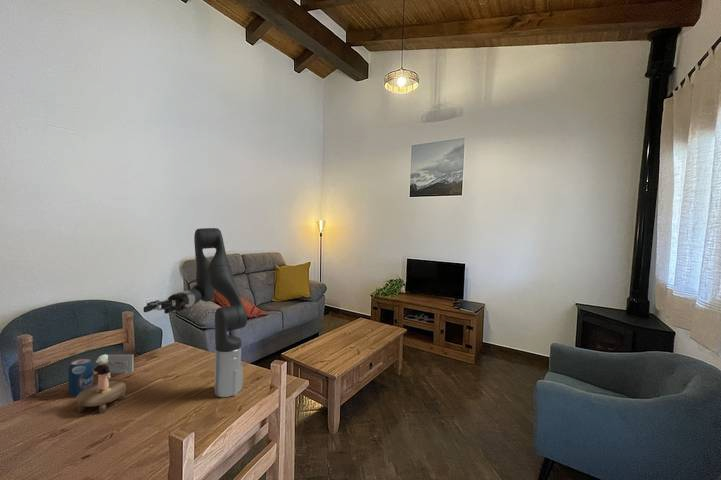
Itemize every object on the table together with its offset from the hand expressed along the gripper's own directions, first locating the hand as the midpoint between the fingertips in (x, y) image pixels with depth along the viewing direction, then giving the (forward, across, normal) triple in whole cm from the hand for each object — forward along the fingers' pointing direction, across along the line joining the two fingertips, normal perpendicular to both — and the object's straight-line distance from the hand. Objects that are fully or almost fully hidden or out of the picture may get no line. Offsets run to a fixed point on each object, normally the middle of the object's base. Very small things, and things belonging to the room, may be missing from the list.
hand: (154, 310), depth 119 cm
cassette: (-8, -22, +30) cm, 38 cm away
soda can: (+8, -22, +30) cm, 38 cm away
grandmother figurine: (+14, -8, +25) cm, 30 cm away
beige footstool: (+14, -8, +30) cm, 34 cm away
